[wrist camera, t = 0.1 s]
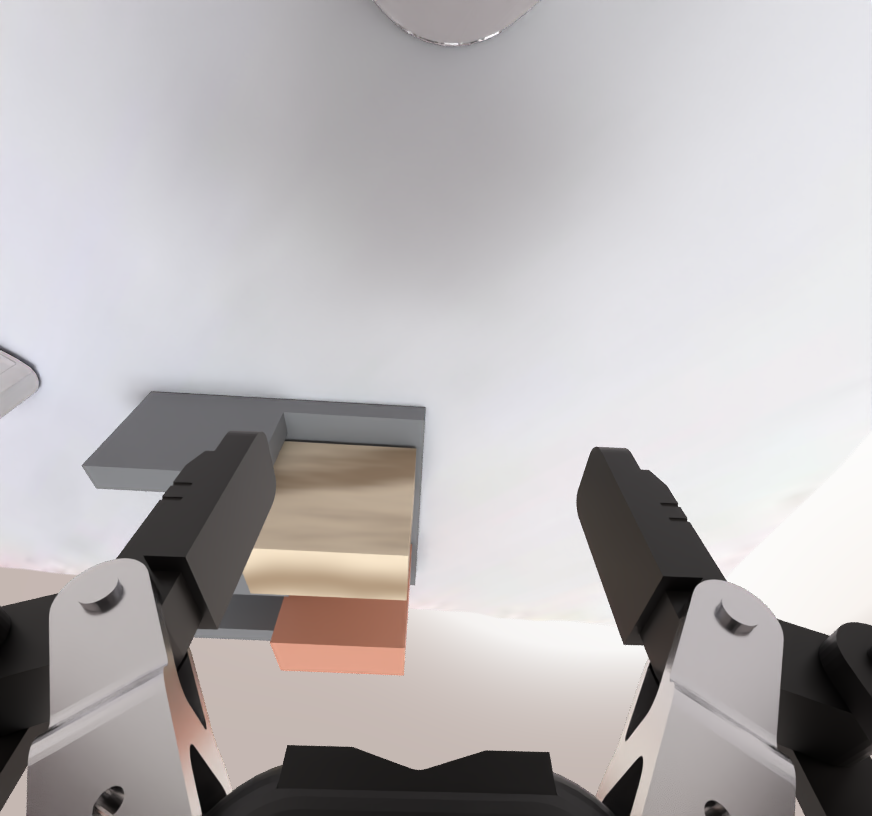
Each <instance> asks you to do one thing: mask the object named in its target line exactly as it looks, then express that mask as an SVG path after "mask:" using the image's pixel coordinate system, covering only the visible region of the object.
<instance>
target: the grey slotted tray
mask: <svg viewBox="0 0 872 816" xmlns="http://www.w3.org/2000/svg"><path fill="white" fill-rule="evenodd" d="M424 425H425V407H408V406H391V405H374V404H357V403H339V402H322V401H305V400H288V399H271V398H253V397H236V396H219V395H202V394H184V393H167V392H150V393H149V395H148V396H147V397H146V398H145V399H144V400H143V401H142V402H141V403H140V404H139V405H138V406H137V407H136V408H135V409H134V410H133V412H132V413H131V414H130V415H129V416H128V417H127V418H126V419H125V420H124V421H123V422H122V423H121V424H120V425H119V426H118V427H117V429H116V430H115V431H114V432H113V433H112V434H111V435H110V436H109V437H108V438H107V439H106V440H105V441H104V442H103V443H102V444H101V446H100V447H99V448H98V449H97V450H96V451H95V452H94V453H93V454H92V455H91V456H90V457H89V458H88V459H87V460H86V462H85V463H84V464H83V465H82V467H83V468H84V470H85V472H86V473H87V475H88V476H89V478H90V480H91V481H92V483H93V484H94V486H95V487H96V488H97V489H116V490H135V491H154V492H166V491H167V490H168V488H169V487H170V486H173V481H174V480H175V479H176V477H177V476H178V475H179V473H180V472H181V471H182V469H183V468H184V467H185V465H186V464H188V463H189V462H190V461H192V460H193V459H195V458H196V457H197V456H199V455H200V454H202V453H203V452H204V451H215V450H216V448H217V447H218V445H219V444H220V442H221V441H222V439H223V438H224V436H225V435H226V434H227V433H228V432H229V431H232V430H234V431H257V432H264V433H265V435H266V437H267V441H268V445H269V450H270V454H271V459H272V463H273V466H274V463H275V461H276V459H277V457H278V454H279V452H280V450H281V448H282V445H283V443H284V441H291V442H309V443H327V444H345V445H363V446H381V447H399V448H416V467H415V489H414V505H413V519H412V533H411V544H412V554H411V575H410V585H415V576H416V560H417V543H418V526H419V509H420V492H421V475H422V459H423V442H424ZM284 596H286V597H289V595H276V594H254V593H250V591H249V588H248V585H247V583H246V580H245V578H244V575H243V573H242V575H241V577H240V580H239V582H238V584H237V587H236V589H235V591H234V593H233V596H232V598H231V600H230V603H229V605H228V607H227V609H226V612H225V614H224V616H223V619H222V621H221V623H220V625H219V628H218V630H213V629H197V631H196V633H195V635H194V637H196V638H198V637H199V638H220V639H243V640H244V639H245V640H266V641H271V638H272V634H273V631H274V628H275V625H276V622H277V618H278V615H279V612H280V609H281V605H282V602H283V599H284Z"/></svg>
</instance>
